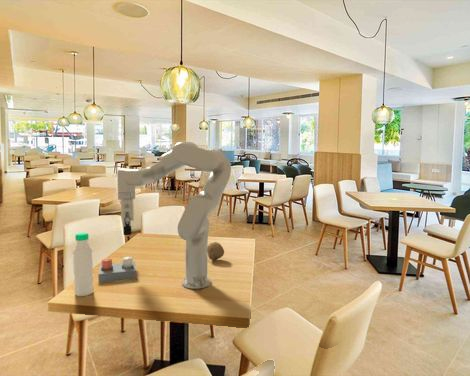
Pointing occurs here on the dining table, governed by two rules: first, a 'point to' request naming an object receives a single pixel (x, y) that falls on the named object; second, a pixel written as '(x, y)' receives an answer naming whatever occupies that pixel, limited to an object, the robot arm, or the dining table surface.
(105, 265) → the red plug
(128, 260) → the domed peg
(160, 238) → the dining table surface
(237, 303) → the dining table surface
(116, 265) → the panel
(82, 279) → the water bottle
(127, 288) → the dining table surface
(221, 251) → the natural sponge
